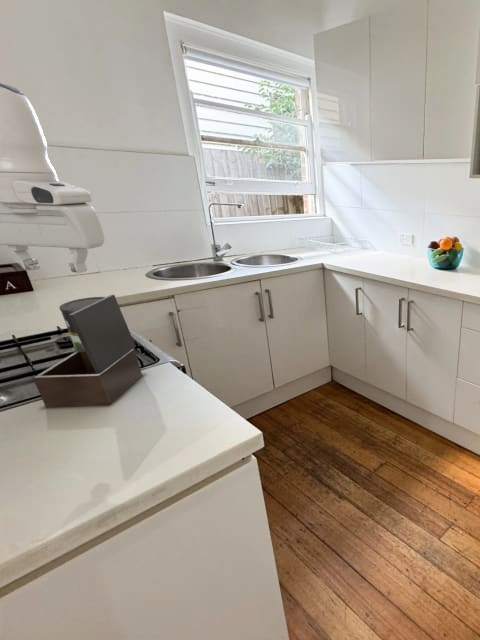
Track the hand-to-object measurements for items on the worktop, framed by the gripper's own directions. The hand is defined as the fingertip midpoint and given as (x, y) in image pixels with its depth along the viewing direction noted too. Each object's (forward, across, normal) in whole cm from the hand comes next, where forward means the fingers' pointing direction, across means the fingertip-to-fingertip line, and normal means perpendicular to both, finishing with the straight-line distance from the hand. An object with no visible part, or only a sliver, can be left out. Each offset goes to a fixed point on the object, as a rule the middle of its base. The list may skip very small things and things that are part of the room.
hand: (55, 270), depth 71 cm
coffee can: (+26, -12, +16) cm, 33 cm away
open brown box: (+26, 0, 0) cm, 26 cm away
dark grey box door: (+13, +4, +1) cm, 13 cm away
